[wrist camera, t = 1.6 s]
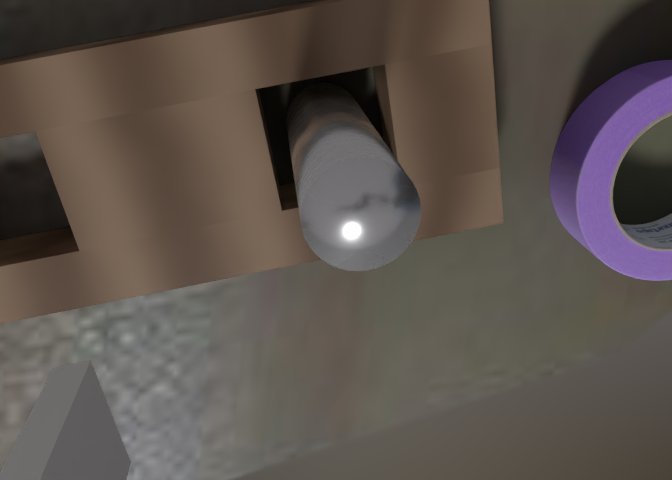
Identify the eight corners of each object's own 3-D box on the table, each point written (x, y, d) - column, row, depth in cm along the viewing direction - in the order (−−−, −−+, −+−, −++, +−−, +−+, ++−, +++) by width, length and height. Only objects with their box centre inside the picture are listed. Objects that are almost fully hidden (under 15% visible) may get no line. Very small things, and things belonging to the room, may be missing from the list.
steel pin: (354, 76, 33) (413, 146, 20) (366, 150, 34) (427, 258, 22) (279, 91, 33) (289, 170, 20) (294, 164, 34) (312, 281, 22)
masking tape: (508, 164, 36) (534, 186, 32) (676, 11, 34) (724, 16, 30) (618, 288, 40) (652, 319, 37) (776, 159, 38) (828, 179, 34)
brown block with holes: (461, -28, 31) (487, -27, 28) (479, 197, 36) (503, 222, 33) (-188, 94, 30) (-250, 112, 27) (-80, 308, 35) (-119, 347, 32)
